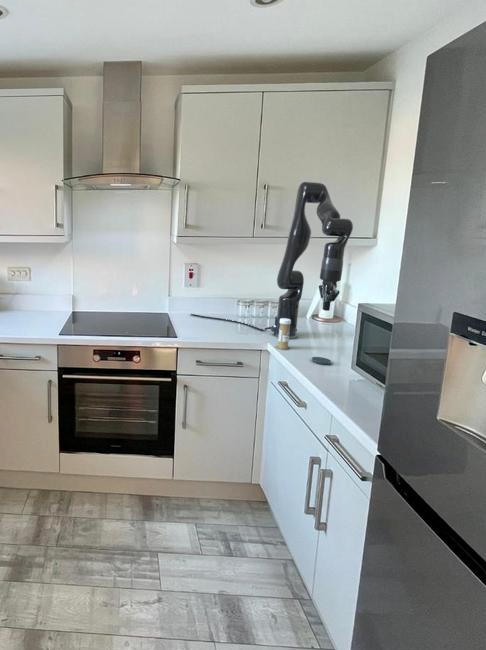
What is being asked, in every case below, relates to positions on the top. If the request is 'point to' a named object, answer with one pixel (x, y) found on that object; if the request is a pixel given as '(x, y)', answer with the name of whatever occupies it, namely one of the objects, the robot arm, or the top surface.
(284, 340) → the sprinkles bottle
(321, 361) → the plate
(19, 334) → the top surface
